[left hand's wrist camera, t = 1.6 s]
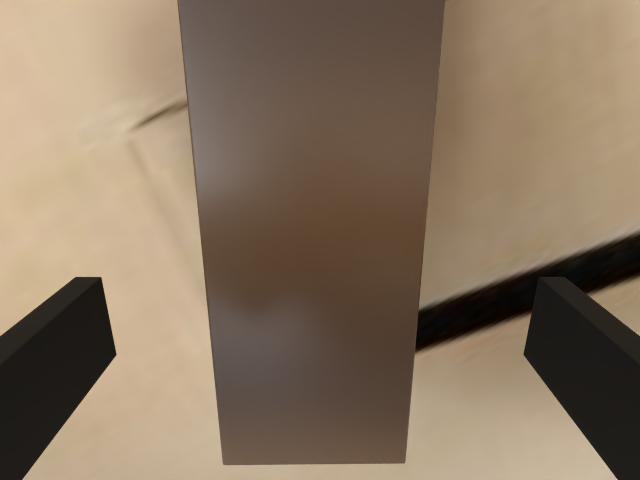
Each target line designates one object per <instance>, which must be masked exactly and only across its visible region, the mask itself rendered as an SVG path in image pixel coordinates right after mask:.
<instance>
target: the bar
mask: <svg viewBox="0 0 640 480" xmlns="http://www.w3.org/2000/svg"><path fill="white" fill-rule="evenodd" d="M177 1H178V11H179V21H180V31H181V41H182V51H183V62H184V72H185V82H186V92H187V102H188V113H189V123H190V133H191V143H192V153H193V164H194V174H195V184H196V194H197V204H198V215H199V225H200V235H201V245H202V255H203V266H204V276H205V286H206V296H207V306H208V317H209V327H210V337H211V347H212V357H213V368H214V378H215V388H216V398H217V408H218V419H219V429H220V439H221V449H222V459H223V465H275V464H393V463H405V459H406V448H407V436H408V425H409V413H410V401H411V390H412V378H413V366H414V355H415V343H416V332H417V320H418V308H419V297H420V285H421V274H422V262H423V250H424V239H425V227H426V215H427V204H428V192H429V181H430V169H431V157H432V146H433V134H434V122H435V111H436V99H437V88H438V76H439V64H440V53H441V41H442V30H443V18H444V6H445V0H177Z"/></svg>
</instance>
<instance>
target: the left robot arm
mask: <svg viewBox="0 0 640 480" xmlns="http://www.w3.org/2000/svg"><path fill="white" fill-rule="evenodd" d="M115 356H116V350H115V345H114V340H113V335H112V330H111V324H110V319H109V314H108V309H107V304H106V299H105V294H104V289H103V284H102V279H101V277H75V278H74V279H73V280H71V281H70V282H69V283H67V284H66V285H65V286H64V287H62V288H61V289H60V290H59V291H57V292H56V293H55V294H53V295H52V296H51V297H50V298H48V299H47V300H46V301H45V302H43V303H42V304H41V305H39V306H38V307H37V308H36V309H34V310H33V311H32V312H31V313H29V314H28V315H27V316H25V317H24V318H23V319H22V320H20V321H19V322H18V323H17V324H15V325H14V326H13V327H11V328H10V329H9V330H8V331H6V332H5V333H4V334H3V335H1V336H0V480H22V479H23V478H24V477H25V475H26V474H27V473H28V471H29V470H30V469H31V467H32V466H33V465H34V463H35V462H36V461H37V459H38V458H39V457H40V455H41V454H42V453H43V451H44V450H45V449H46V447H47V446H48V445H49V443H50V442H51V441H52V440H53V438H54V437H55V436H56V434H57V433H58V432H59V430H60V429H61V428H62V426H63V425H64V424H65V422H66V421H67V420H68V418H69V417H70V416H71V414H72V413H73V412H74V410H75V409H76V408H77V406H78V405H79V404H80V402H81V401H82V400H83V398H84V397H85V396H86V394H87V393H88V392H89V391H90V389H91V388H92V387H93V385H94V384H95V383H96V381H97V380H98V379H99V377H100V376H101V375H102V373H103V372H104V371H105V369H106V368H107V367H108V365H109V364H110V363H111V361H112V360H113V359H114V357H115ZM524 356H525V357H526V359H527V360H528V361H529V363H530V364H531V365H532V367H533V368H534V369H535V371H536V372H537V373H538V375H539V376H540V377H541V379H542V380H543V381H544V383H545V384H546V385H547V387H548V388H549V389H550V391H551V392H552V393H553V394H554V396H555V397H556V398H557V400H558V401H559V402H560V404H561V405H562V406H563V408H564V409H565V410H566V412H567V413H568V414H569V416H570V417H571V418H572V420H573V421H574V422H575V424H576V425H577V426H578V428H579V429H580V430H581V432H582V433H583V434H584V436H585V437H586V438H587V440H588V441H589V442H590V443H591V445H592V446H593V447H594V449H595V450H596V451H597V453H598V454H599V455H600V457H601V458H602V459H603V461H604V462H605V463H606V465H607V466H608V467H609V469H610V470H611V471H612V473H613V474H614V475H615V477H616V478H617V479H618V480H640V336H639V335H637V334H636V333H635V332H634V331H632V330H631V329H630V328H629V327H627V326H626V325H625V324H623V323H622V322H621V321H620V320H618V319H617V318H616V317H615V316H613V315H612V314H611V313H609V312H608V311H607V310H606V309H604V308H603V307H602V306H601V305H599V304H598V303H597V302H595V301H594V300H593V299H592V298H590V297H589V296H588V295H587V294H585V293H584V292H583V291H581V290H580V289H579V288H578V287H576V286H575V285H574V284H573V283H571V282H570V281H569V280H567V279H566V278H565V277H539V279H538V284H537V289H536V294H535V299H534V304H533V309H532V314H531V319H530V324H529V330H528V335H527V340H526V345H525V350H524Z"/></svg>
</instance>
